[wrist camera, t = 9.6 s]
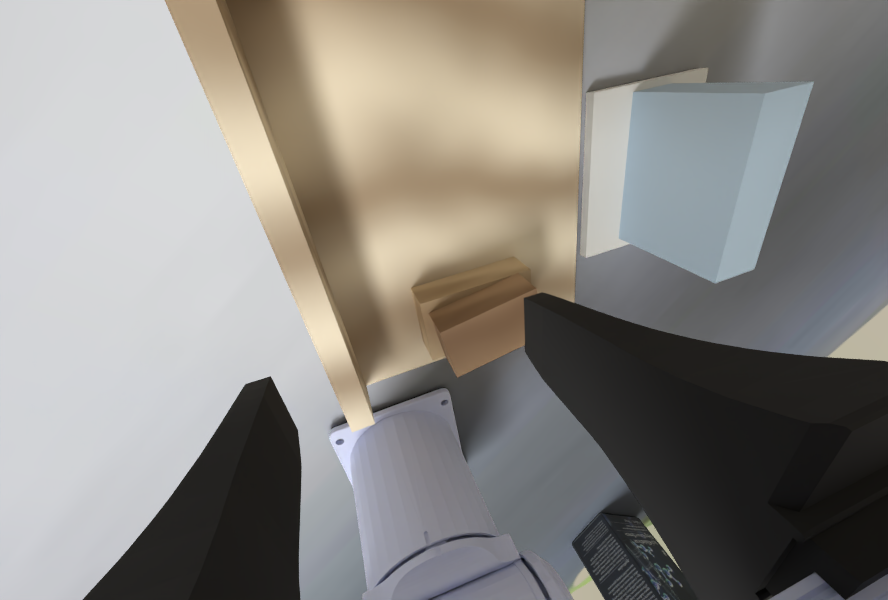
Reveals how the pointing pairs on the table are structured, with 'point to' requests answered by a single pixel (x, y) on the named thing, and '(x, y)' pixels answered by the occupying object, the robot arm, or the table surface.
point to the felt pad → (611, 158)
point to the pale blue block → (708, 170)
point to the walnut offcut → (483, 324)
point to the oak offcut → (458, 294)
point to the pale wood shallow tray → (396, 153)
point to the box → (629, 561)
